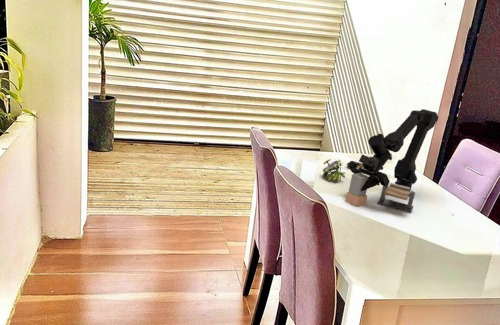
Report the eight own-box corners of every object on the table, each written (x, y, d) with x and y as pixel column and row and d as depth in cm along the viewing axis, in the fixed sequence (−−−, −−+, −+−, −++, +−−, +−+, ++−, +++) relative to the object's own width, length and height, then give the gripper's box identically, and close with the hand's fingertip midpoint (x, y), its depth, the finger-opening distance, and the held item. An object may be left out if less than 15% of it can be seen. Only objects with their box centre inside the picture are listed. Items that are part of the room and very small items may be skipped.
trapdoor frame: (379, 199, 202) (383, 182, 200) (413, 208, 197) (417, 190, 195) (376, 204, 196) (380, 186, 194) (411, 213, 191) (415, 195, 189)
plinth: (354, 199, 198) (356, 190, 197) (365, 204, 194) (367, 195, 193) (345, 201, 195) (346, 192, 194) (356, 206, 190) (358, 197, 189)
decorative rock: (345, 171, 238) (375, 178, 236) (347, 164, 236) (377, 170, 234) (345, 164, 248) (374, 170, 246) (347, 157, 247) (376, 163, 245)
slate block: (356, 190, 197) (360, 173, 194) (365, 195, 193) (369, 177, 191) (348, 192, 194) (352, 174, 191) (357, 196, 190) (361, 178, 188)
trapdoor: (388, 187, 199) (389, 182, 198) (410, 193, 195) (411, 188, 195) (383, 196, 188) (384, 190, 187) (406, 202, 184) (407, 196, 184)
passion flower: (322, 187, 225) (324, 163, 229) (346, 187, 222) (346, 164, 226) (320, 180, 215) (321, 155, 219) (344, 180, 212) (345, 155, 216)
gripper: (354, 142, 197) (332, 169, 193) (391, 155, 183) (368, 184, 180) (363, 158, 204) (341, 185, 200) (399, 172, 190) (376, 201, 187)
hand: (356, 188), depth 192 cm, fingers closed on slate block, 5 cm apart
